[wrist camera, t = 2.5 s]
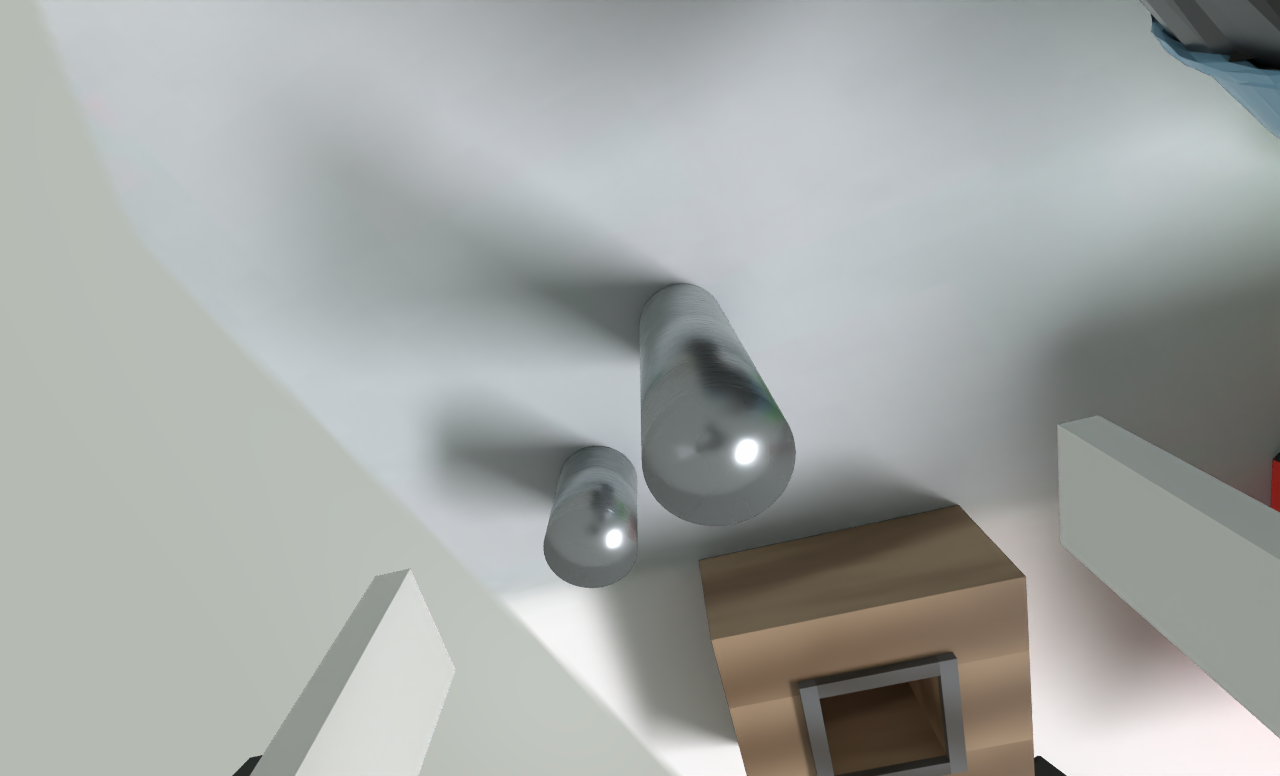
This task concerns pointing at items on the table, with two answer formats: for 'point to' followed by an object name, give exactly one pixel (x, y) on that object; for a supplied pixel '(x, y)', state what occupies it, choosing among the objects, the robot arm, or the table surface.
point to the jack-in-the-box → (1275, 484)
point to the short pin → (593, 519)
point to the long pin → (706, 414)
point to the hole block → (876, 651)
